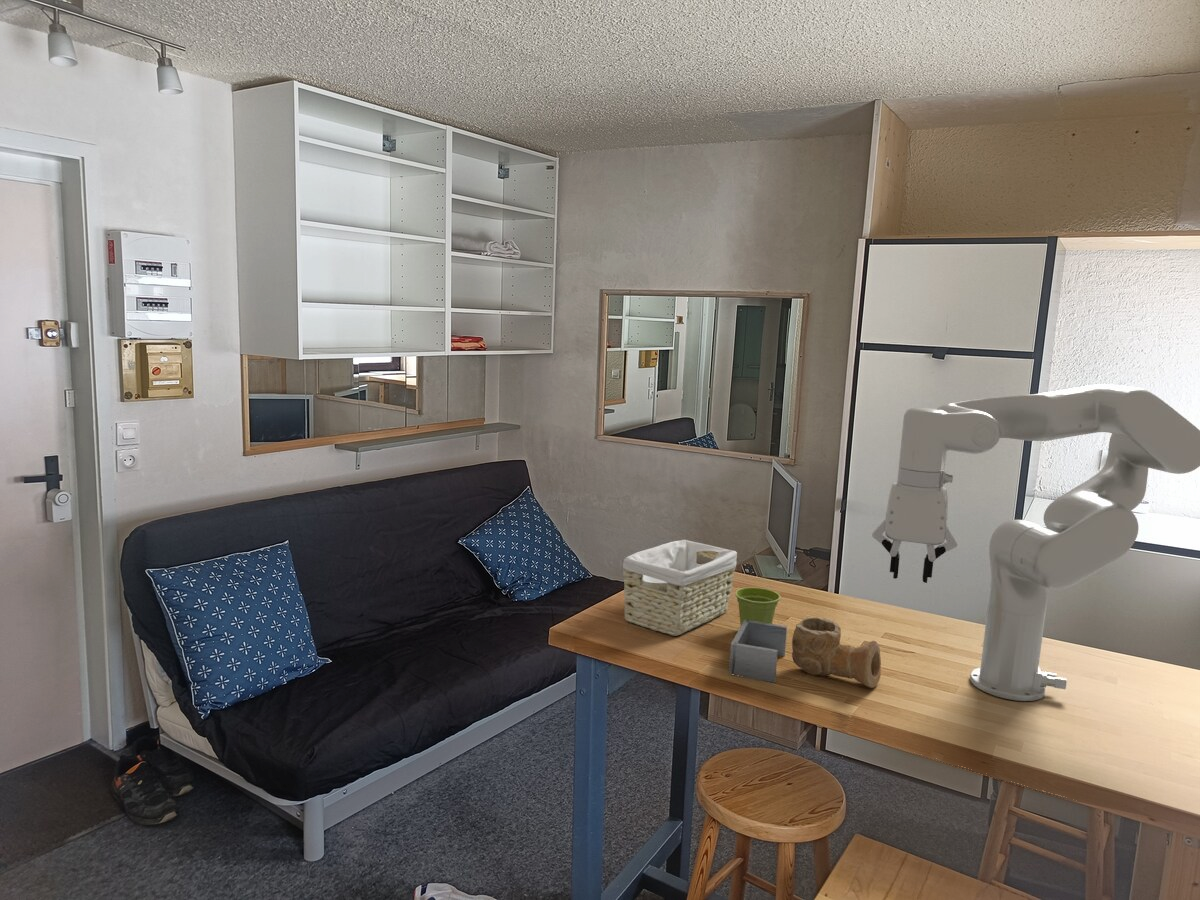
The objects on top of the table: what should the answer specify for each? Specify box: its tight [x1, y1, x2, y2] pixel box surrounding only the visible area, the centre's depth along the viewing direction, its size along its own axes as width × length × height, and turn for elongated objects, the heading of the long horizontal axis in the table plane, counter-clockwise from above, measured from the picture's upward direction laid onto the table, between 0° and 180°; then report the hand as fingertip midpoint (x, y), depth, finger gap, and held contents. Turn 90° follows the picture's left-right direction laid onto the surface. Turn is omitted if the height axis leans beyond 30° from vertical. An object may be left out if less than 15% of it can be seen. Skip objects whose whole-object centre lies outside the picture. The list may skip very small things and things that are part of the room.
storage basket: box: [622, 539, 738, 637], centre depth 183 cm, size 24×16×15 cm
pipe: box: [791, 616, 882, 689], centre depth 155 cm, size 9×16×10 cm, turn 63°
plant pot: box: [734, 586, 781, 627], centre depth 176 cm, size 9×9×9 cm
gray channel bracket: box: [728, 620, 788, 684], centre depth 160 cm, size 8×14×6 cm, turn 160°
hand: (910, 577), depth 149 cm, fingers open, 4 cm apart
